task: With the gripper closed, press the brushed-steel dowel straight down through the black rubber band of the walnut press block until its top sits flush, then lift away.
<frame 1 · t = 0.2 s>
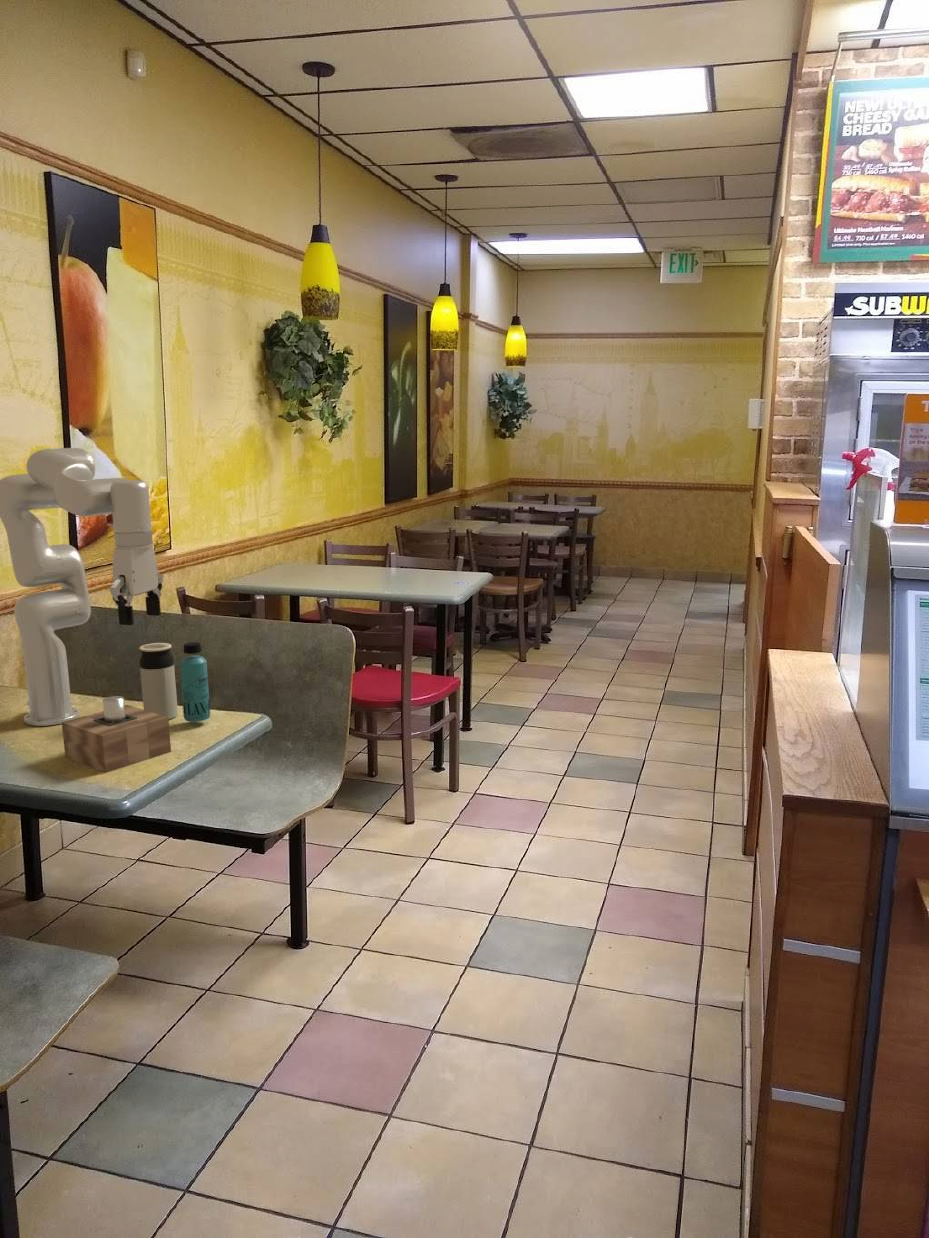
hand: (140, 619, 209), 30 cm above the table, tool pointing down, fingers open, 9 cm apart
beverage bottle: (197, 724, 237), on the table
travel mug: (161, 717, 243), on the table
press block: (118, 754, 217), on the table
steel dowel: (114, 715, 215), point 9 cm above the table, slide at 4.5 cm
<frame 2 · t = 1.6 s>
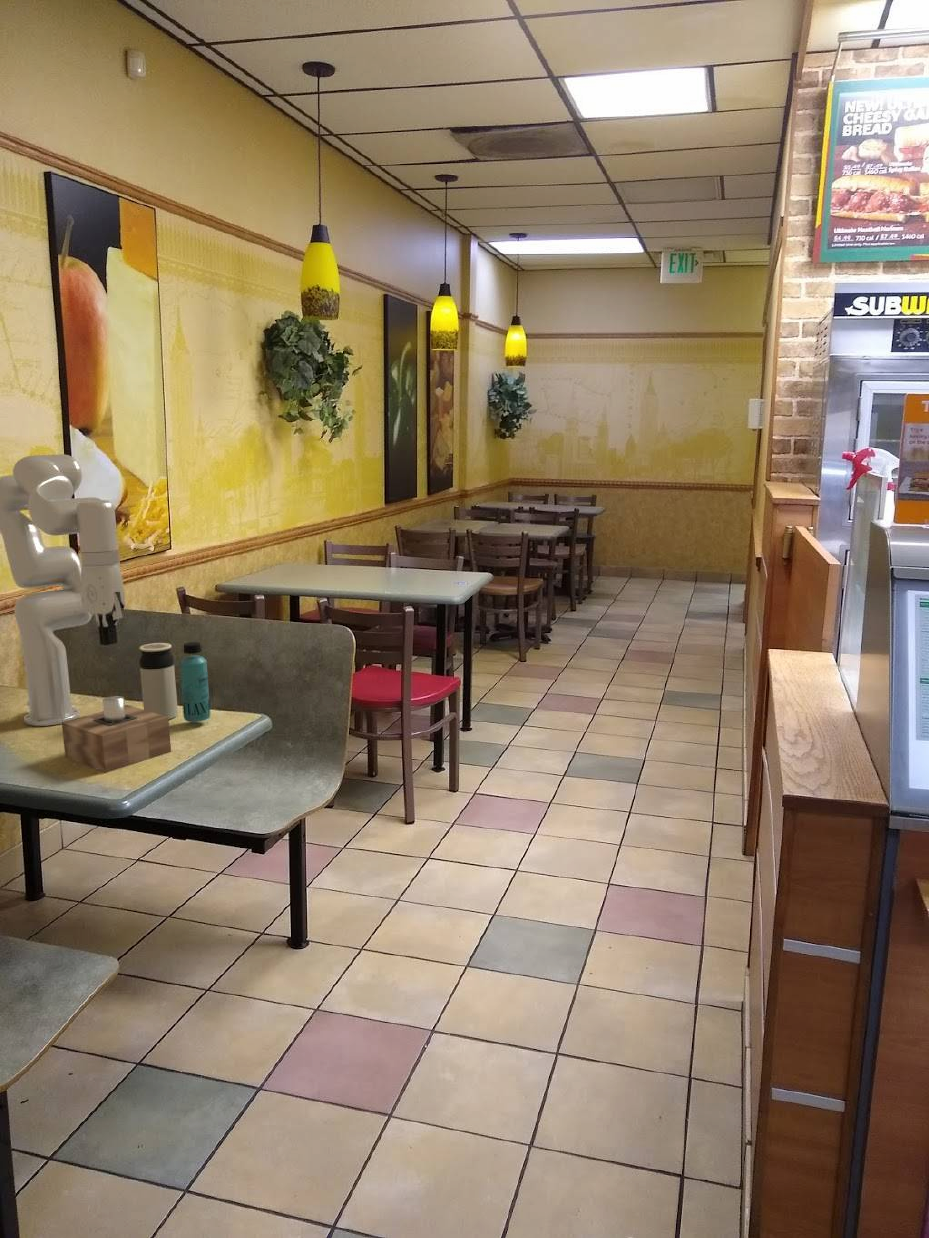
hand: (108, 643, 211), 25 cm above the table, tool pointing down, fingers closed
nothing on the table moved.
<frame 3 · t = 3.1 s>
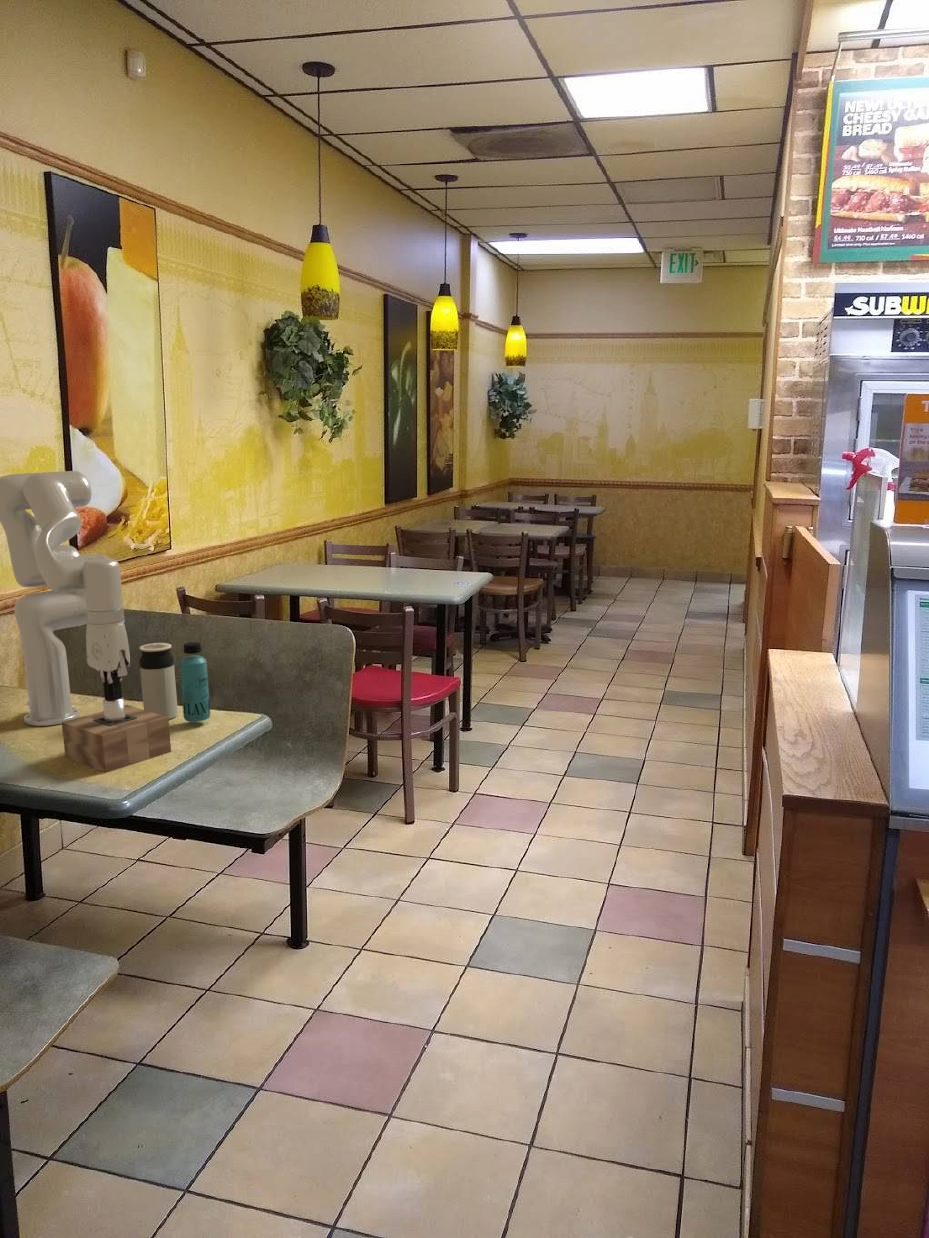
hand: (113, 699, 214), 13 cm above the table, tool pointing down, fingers closed
steel dowel: (115, 716, 215), point 9 cm above the table, slide at 4.3 cm, touching gripper
everything else where it was.
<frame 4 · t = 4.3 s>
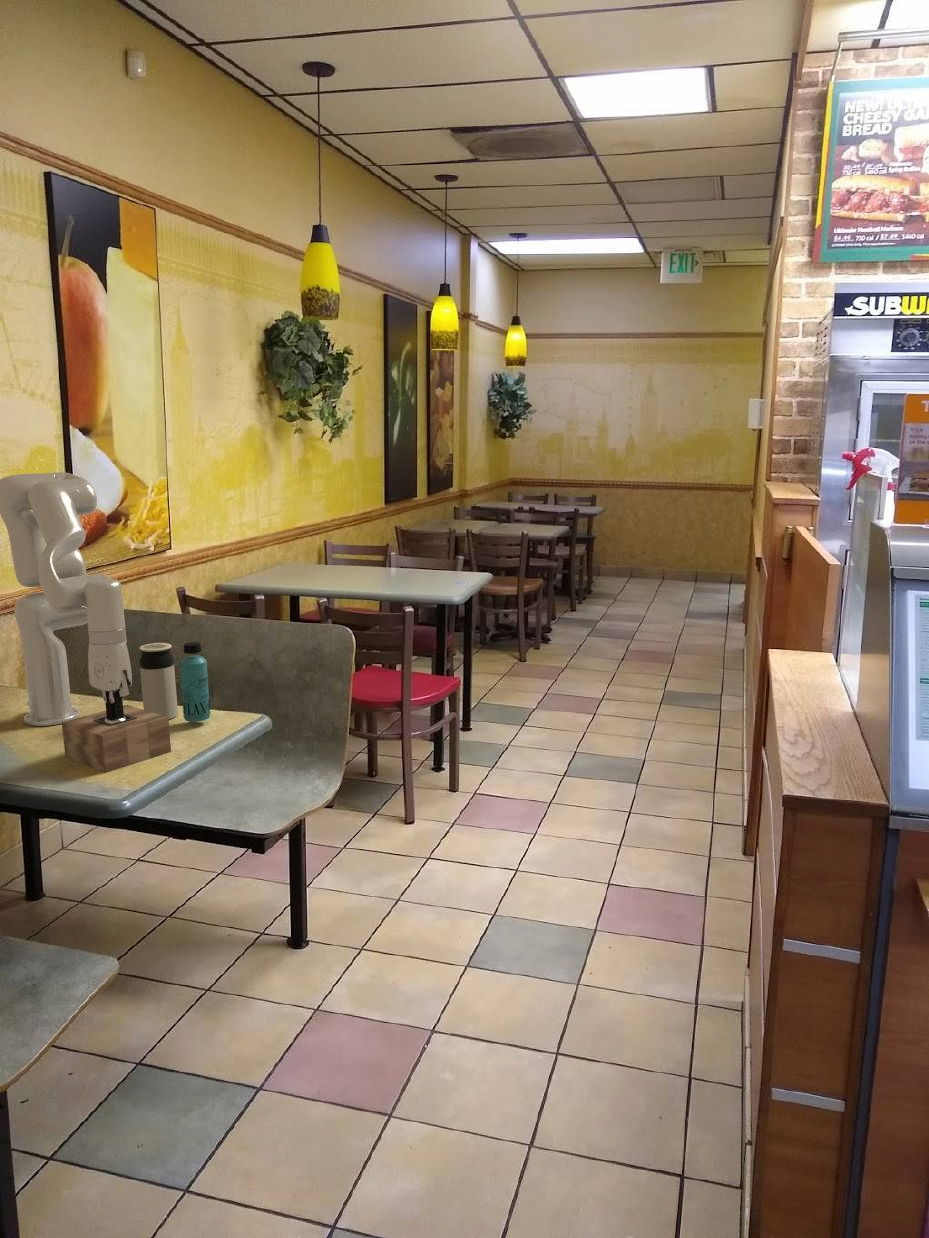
hand: (115, 718, 215), 8 cm above the table, tool pointing down, fingers closed
steel dowel: (116, 735, 216), point 4 cm above the table, slide at 0.0 cm, touching gripper
everything else where it was.
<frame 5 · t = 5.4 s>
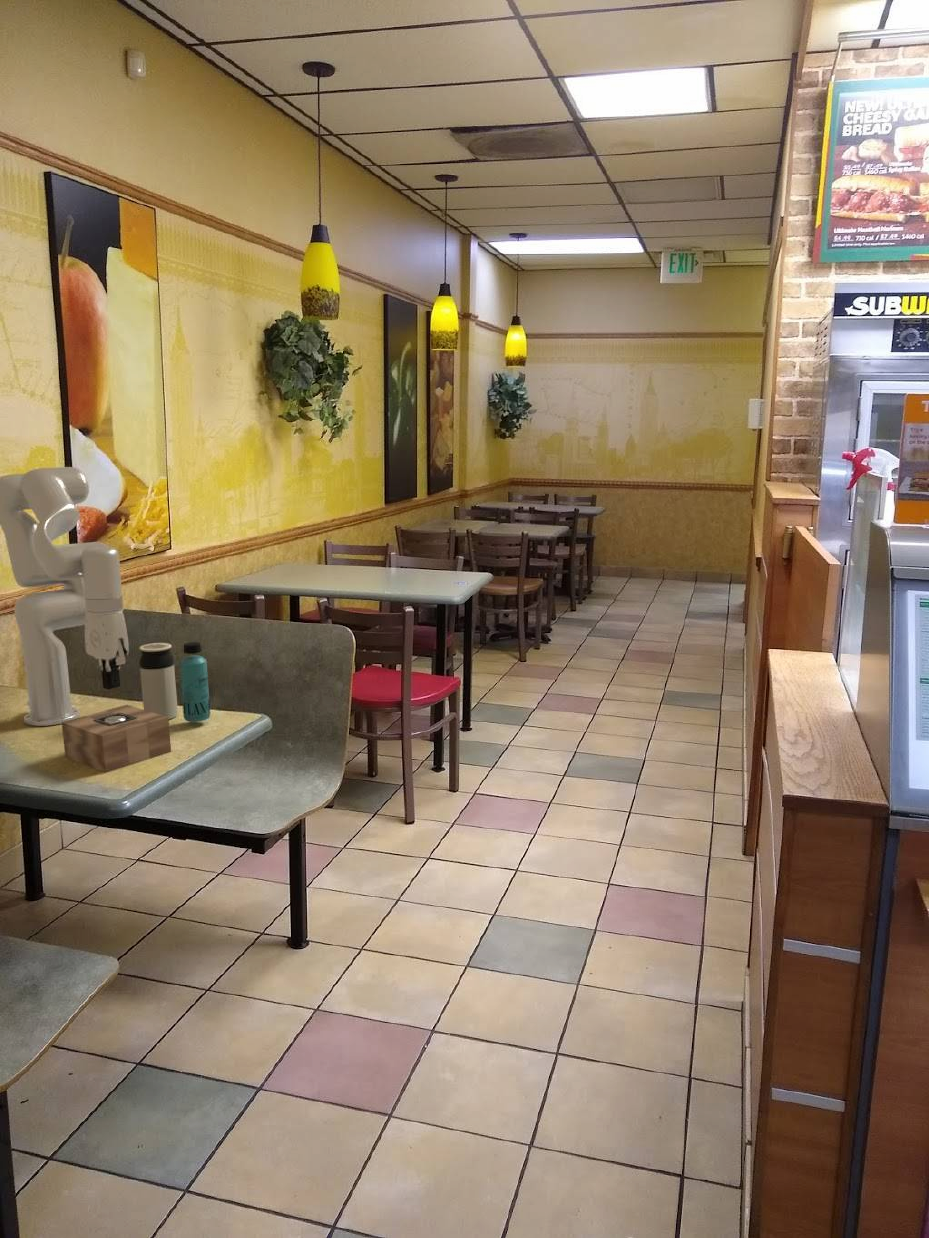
hand: (111, 687, 214), 15 cm above the table, tool pointing down, fingers closed
steel dowel: (116, 735, 216), point 4 cm above the table, slide at 0.0 cm
everything else where it was.
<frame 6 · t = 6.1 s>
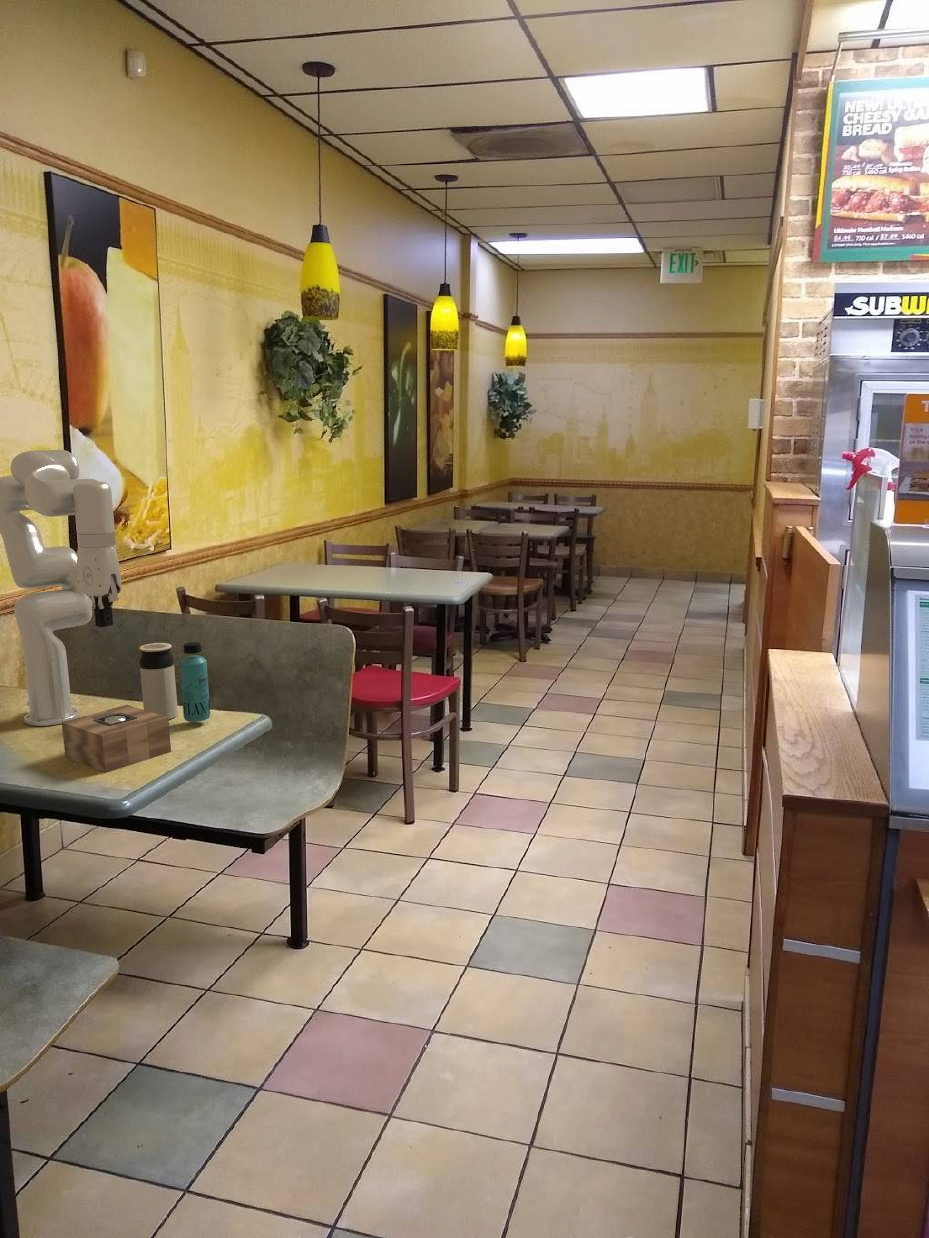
hand: (104, 625, 211), 29 cm above the table, tool pointing down, fingers closed
nothing on the table moved.
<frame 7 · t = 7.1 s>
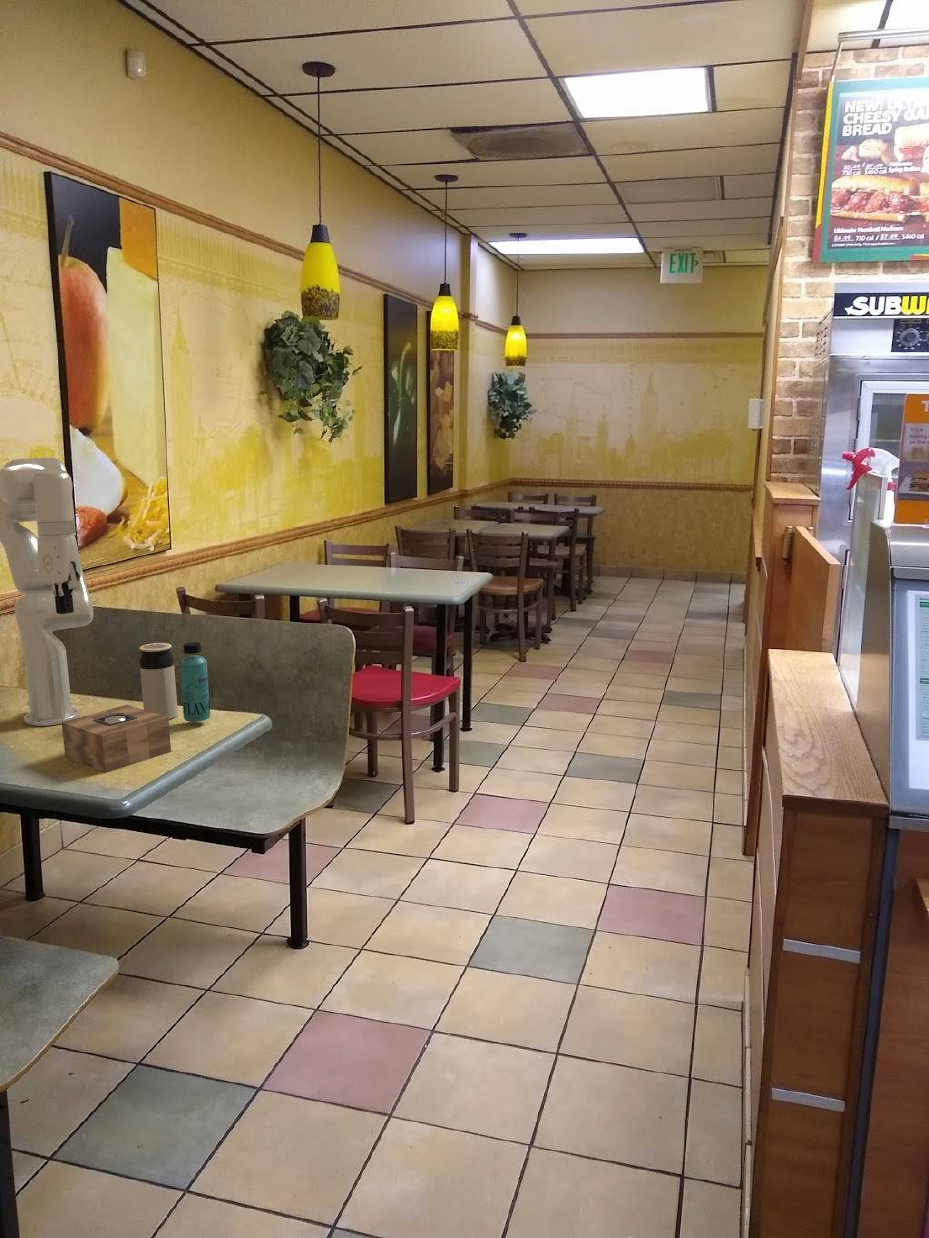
hand: (65, 612, 215), 31 cm above the table, tool pointing down, fingers closed
nothing on the table moved.
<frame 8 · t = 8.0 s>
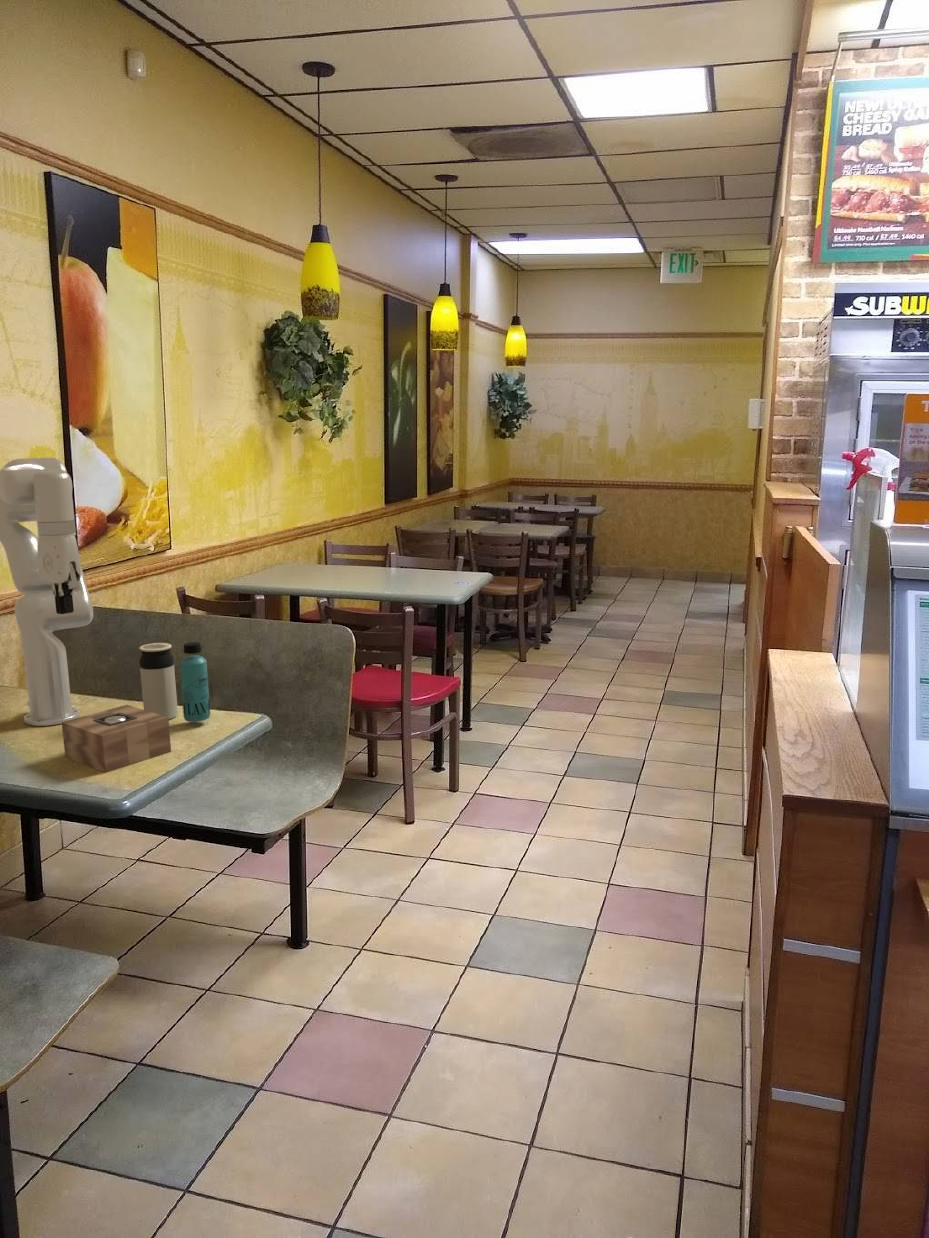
hand: (65, 612, 215), 31 cm above the table, tool pointing down, fingers closed
nothing on the table moved.
at the end: steel dowel slide at 0.0 cm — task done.
